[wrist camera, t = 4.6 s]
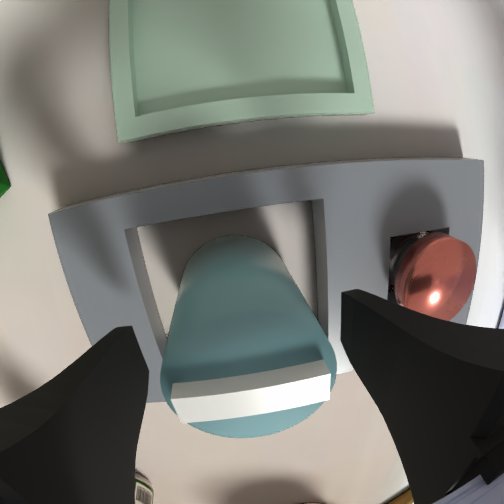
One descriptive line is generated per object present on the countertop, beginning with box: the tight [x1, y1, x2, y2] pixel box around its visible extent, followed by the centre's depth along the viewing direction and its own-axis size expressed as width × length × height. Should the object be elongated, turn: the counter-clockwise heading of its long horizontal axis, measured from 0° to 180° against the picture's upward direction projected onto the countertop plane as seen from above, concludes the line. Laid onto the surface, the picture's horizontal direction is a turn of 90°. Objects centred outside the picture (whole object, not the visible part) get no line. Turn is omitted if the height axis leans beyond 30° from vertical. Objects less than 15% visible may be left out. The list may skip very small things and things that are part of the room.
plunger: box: [389, 232, 477, 321], centre depth 12 cm, size 4×4×3 cm
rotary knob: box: [160, 235, 337, 438], centre depth 10 cm, size 5×5×7 cm
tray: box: [109, 0, 375, 143], centre depth 9 cm, size 10×10×1 cm
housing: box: [48, 157, 484, 403], centre depth 13 cm, size 20×10×2 cm, turn 97°
